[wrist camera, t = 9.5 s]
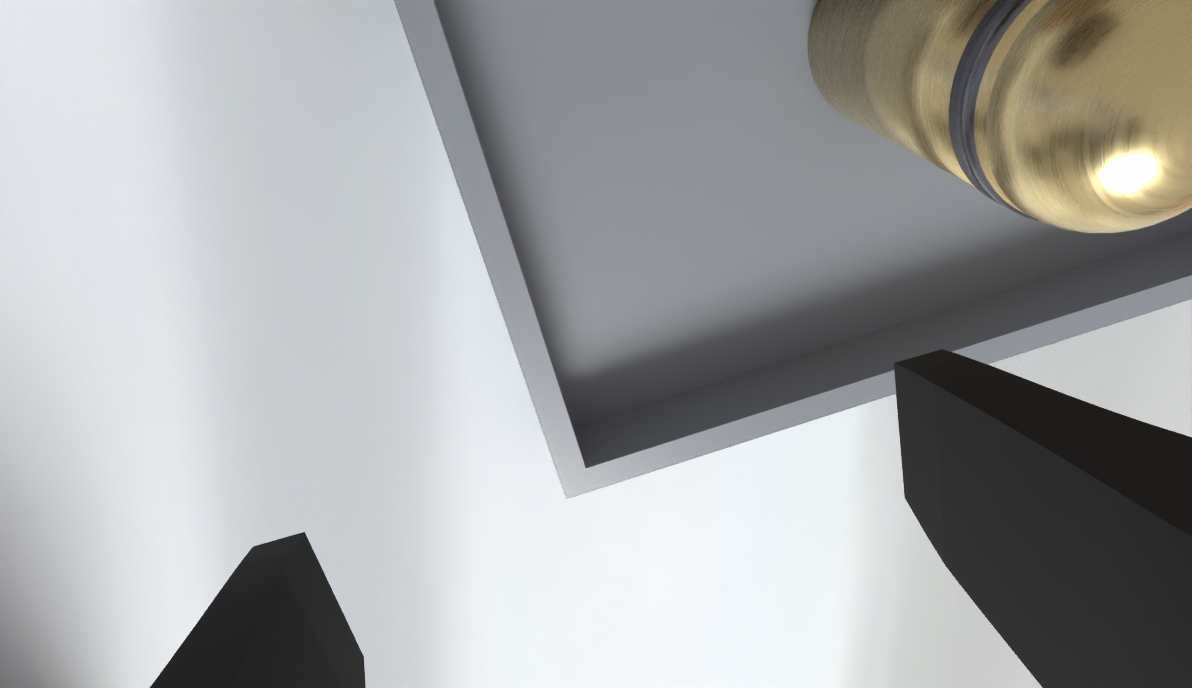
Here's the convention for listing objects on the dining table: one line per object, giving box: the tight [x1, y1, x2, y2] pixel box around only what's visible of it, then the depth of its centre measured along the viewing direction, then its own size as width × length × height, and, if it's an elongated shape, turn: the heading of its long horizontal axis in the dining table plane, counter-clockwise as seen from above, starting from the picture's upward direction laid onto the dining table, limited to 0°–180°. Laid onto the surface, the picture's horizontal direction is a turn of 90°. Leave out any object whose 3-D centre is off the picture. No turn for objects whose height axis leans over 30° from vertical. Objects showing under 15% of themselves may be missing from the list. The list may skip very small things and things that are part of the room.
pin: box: [808, 0, 1192, 233], centre depth 15 cm, size 4×4×8 cm
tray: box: [394, 0, 1192, 499], centre depth 18 cm, size 18×14×2 cm
